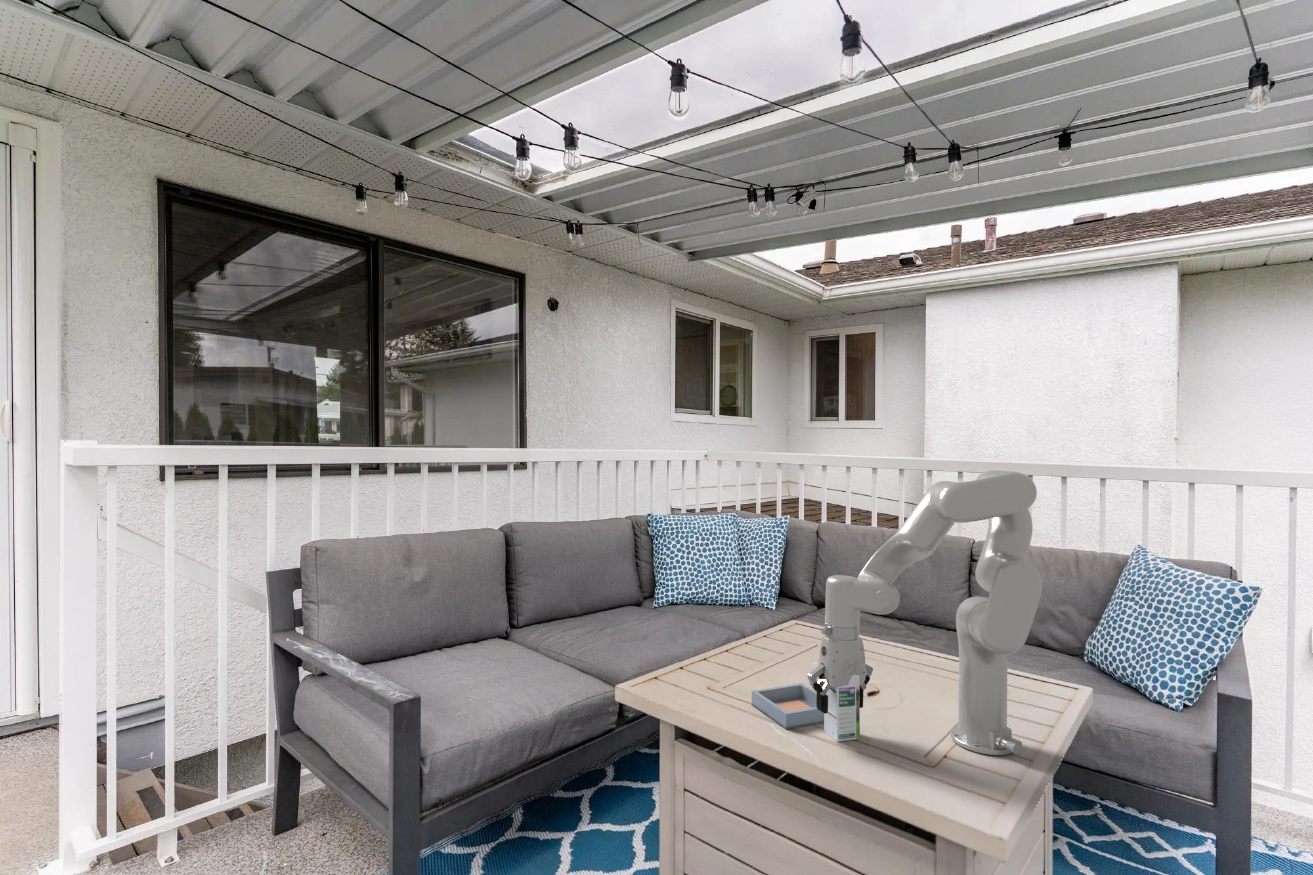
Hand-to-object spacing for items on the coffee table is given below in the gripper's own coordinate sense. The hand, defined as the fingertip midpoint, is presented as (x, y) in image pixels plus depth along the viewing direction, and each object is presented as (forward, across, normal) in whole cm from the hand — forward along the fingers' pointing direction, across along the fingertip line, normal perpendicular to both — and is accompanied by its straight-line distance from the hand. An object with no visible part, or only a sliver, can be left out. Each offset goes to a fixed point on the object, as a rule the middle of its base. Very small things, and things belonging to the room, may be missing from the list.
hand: (839, 708), depth 143 cm
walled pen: (+6, -2, +14) cm, 16 cm away
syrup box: (+6, 0, 0) cm, 6 cm away
